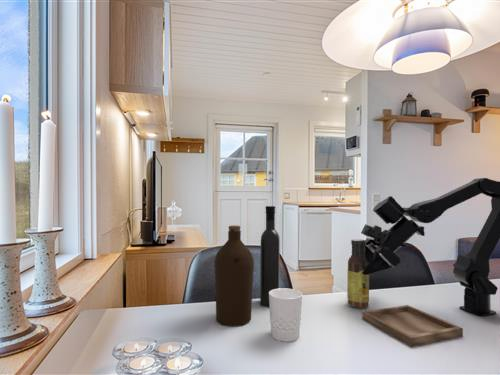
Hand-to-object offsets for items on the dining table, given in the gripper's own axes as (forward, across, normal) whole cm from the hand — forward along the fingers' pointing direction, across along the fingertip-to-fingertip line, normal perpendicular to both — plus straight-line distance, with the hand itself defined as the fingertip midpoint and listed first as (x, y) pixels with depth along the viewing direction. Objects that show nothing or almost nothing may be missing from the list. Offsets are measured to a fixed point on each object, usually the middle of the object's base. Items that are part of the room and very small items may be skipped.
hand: (359, 270), depth 93 cm
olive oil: (+34, +16, -18) cm, 41 cm away
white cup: (+24, +23, -8) cm, 34 cm away
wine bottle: (+27, +2, -11) cm, 30 cm away
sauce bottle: (+8, 0, +7) cm, 11 cm away
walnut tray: (+1, +14, +14) cm, 20 cm away
